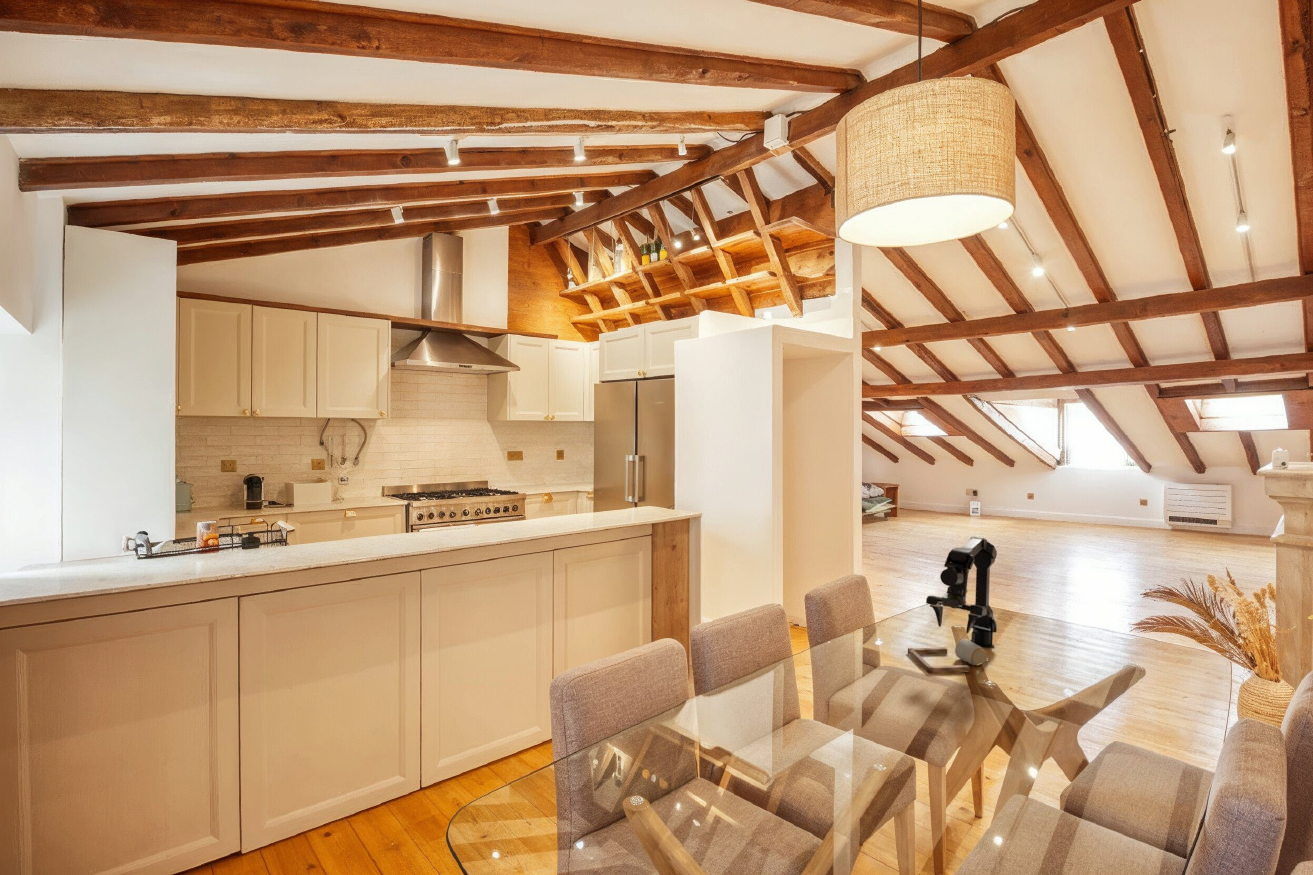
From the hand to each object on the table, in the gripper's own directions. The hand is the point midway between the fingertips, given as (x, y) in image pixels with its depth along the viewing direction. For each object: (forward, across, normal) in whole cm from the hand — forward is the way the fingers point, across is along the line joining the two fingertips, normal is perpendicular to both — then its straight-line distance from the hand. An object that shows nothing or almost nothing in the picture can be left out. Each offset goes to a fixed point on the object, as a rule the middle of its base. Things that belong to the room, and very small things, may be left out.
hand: (953, 629), depth 222 cm
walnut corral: (+14, -6, +8) cm, 17 cm away
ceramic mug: (+12, +3, +17) cm, 21 cm away
